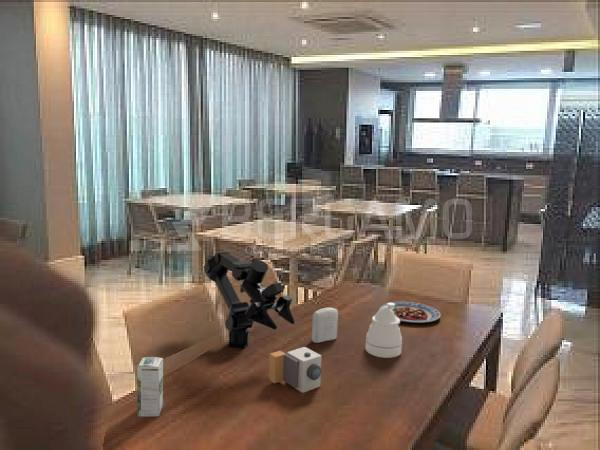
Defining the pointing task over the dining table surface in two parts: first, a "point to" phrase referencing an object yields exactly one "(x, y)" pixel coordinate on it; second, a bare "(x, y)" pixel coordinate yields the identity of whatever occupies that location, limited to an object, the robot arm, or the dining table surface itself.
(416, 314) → the ceramic plate
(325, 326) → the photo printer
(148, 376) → the syrup box
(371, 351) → the honey pot
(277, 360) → the side door
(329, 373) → the dining table surface
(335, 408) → the dining table surface
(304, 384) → the block
